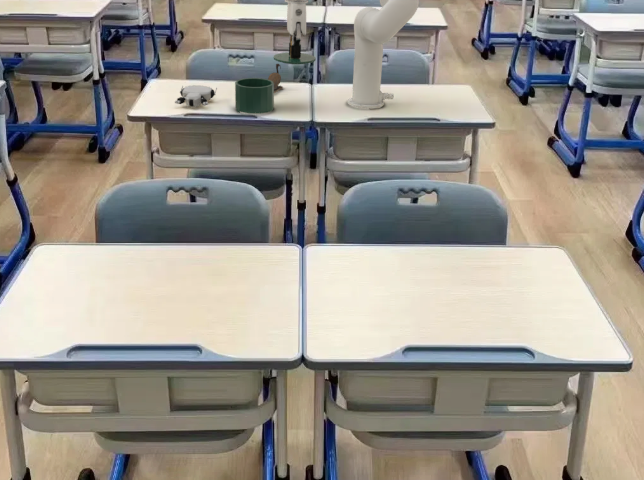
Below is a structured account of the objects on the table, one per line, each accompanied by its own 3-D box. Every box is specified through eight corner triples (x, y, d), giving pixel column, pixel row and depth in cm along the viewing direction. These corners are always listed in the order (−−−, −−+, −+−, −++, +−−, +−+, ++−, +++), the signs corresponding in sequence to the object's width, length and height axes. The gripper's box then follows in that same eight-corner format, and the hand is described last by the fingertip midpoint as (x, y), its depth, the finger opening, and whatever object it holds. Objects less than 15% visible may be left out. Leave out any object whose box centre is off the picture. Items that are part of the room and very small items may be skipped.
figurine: (274, 84, 301) (274, 60, 297) (286, 85, 300) (286, 61, 296) (262, 94, 290) (262, 69, 285) (274, 95, 288) (274, 70, 284)
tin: (270, 104, 279) (270, 77, 274) (276, 114, 268) (276, 87, 263) (233, 105, 277) (233, 78, 272) (237, 115, 266) (237, 88, 261)
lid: (311, 56, 273) (312, 37, 270) (319, 65, 262) (320, 45, 259) (270, 56, 271) (271, 36, 268) (276, 65, 259) (277, 45, 256)
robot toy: (209, 113, 270) (218, 97, 283) (208, 99, 268) (217, 85, 280) (173, 111, 271) (183, 96, 284) (172, 97, 269) (182, 83, 281)
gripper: (313, 1, 250) (310, 62, 259) (303, -8, 264) (301, 51, 273) (289, 1, 249) (287, 62, 258) (280, -8, 263) (279, 51, 272)
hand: (294, 56), depth 266 cm, fingers closed on lid, 2 cm apart
